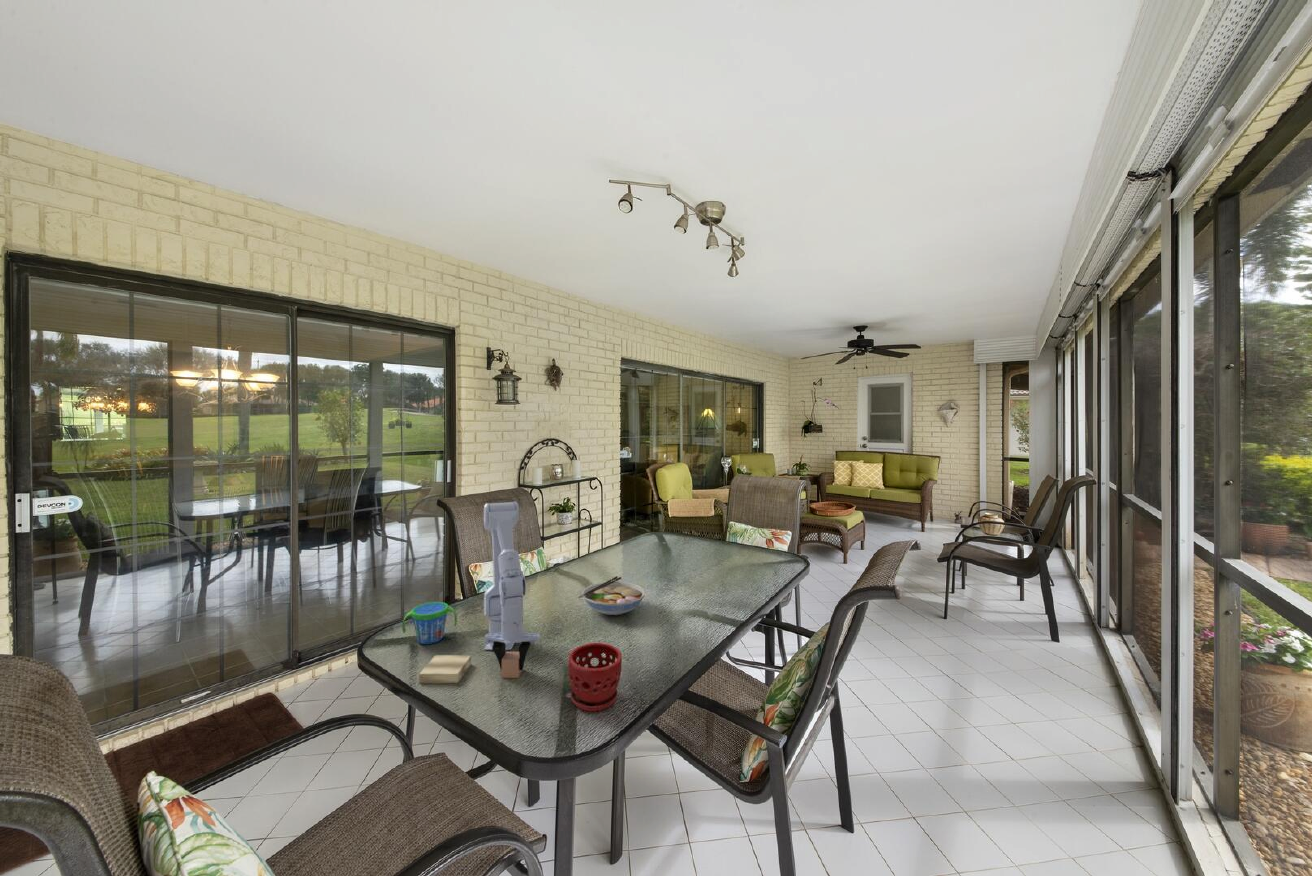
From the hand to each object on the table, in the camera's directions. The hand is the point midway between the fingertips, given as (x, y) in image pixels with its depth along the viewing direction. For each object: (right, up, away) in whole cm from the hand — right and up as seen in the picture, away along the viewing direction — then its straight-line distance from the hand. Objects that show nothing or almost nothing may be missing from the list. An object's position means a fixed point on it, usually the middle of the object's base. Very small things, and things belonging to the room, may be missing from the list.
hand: (512, 668), depth 135 cm
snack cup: (-31, 0, +19) cm, 37 cm away
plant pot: (+24, -3, -12) cm, 27 cm away
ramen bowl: (+24, 0, +44) cm, 50 cm away
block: (0, -1, 0) cm, 1 cm away
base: (-18, -1, 0) cm, 18 cm away
